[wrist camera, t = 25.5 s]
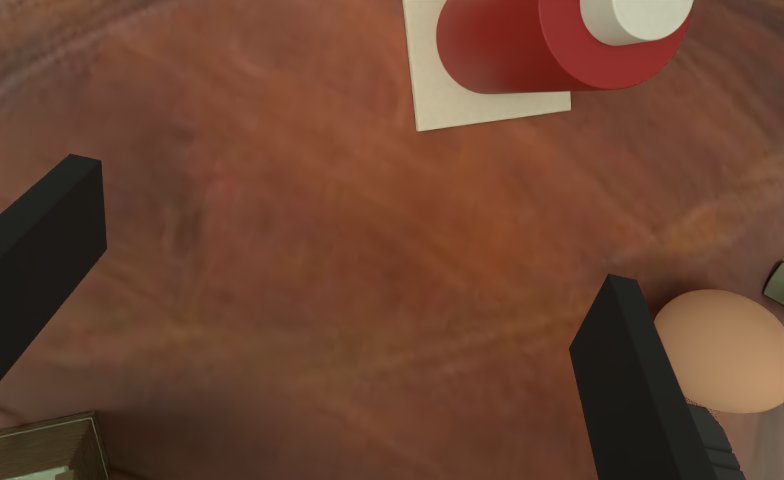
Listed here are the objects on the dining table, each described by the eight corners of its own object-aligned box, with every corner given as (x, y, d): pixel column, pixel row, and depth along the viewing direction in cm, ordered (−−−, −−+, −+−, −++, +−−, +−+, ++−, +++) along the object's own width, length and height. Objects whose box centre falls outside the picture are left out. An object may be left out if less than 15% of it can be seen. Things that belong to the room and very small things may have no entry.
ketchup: (429, -19, 32) (563, -108, 18) (537, -29, 33) (737, -119, 19) (441, 101, 33) (572, 99, 20) (544, 87, 34) (734, 76, 21)
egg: (627, 278, 38) (735, 328, 30) (720, 269, 40) (849, 315, 31) (620, 378, 40) (721, 453, 31) (711, 366, 41) (831, 435, 33)
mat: (397, -47, 31) (398, -49, 31) (559, -61, 33) (562, -63, 33) (416, 131, 33) (418, 131, 33) (567, 110, 35) (571, 110, 35)
